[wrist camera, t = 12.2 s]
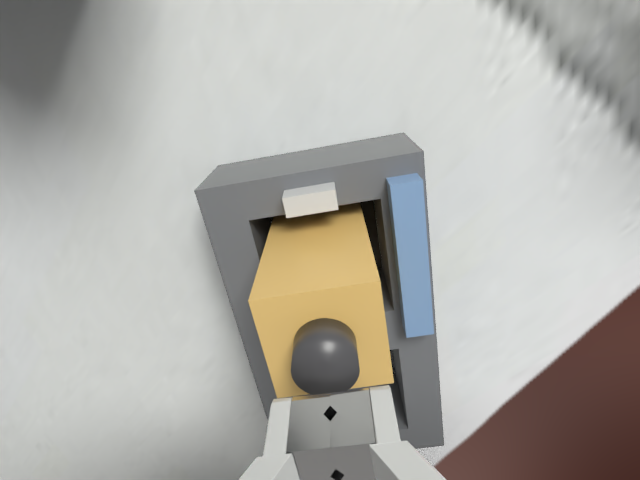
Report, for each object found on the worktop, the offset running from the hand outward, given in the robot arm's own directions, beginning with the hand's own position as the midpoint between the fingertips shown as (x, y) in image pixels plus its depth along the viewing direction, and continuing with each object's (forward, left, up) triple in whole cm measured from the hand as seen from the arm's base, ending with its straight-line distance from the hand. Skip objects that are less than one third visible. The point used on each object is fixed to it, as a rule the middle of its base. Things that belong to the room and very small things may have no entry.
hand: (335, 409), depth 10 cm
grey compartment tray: (0, -4, -12) cm, 12 cm away
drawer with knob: (0, 0, -12) cm, 12 cm away
